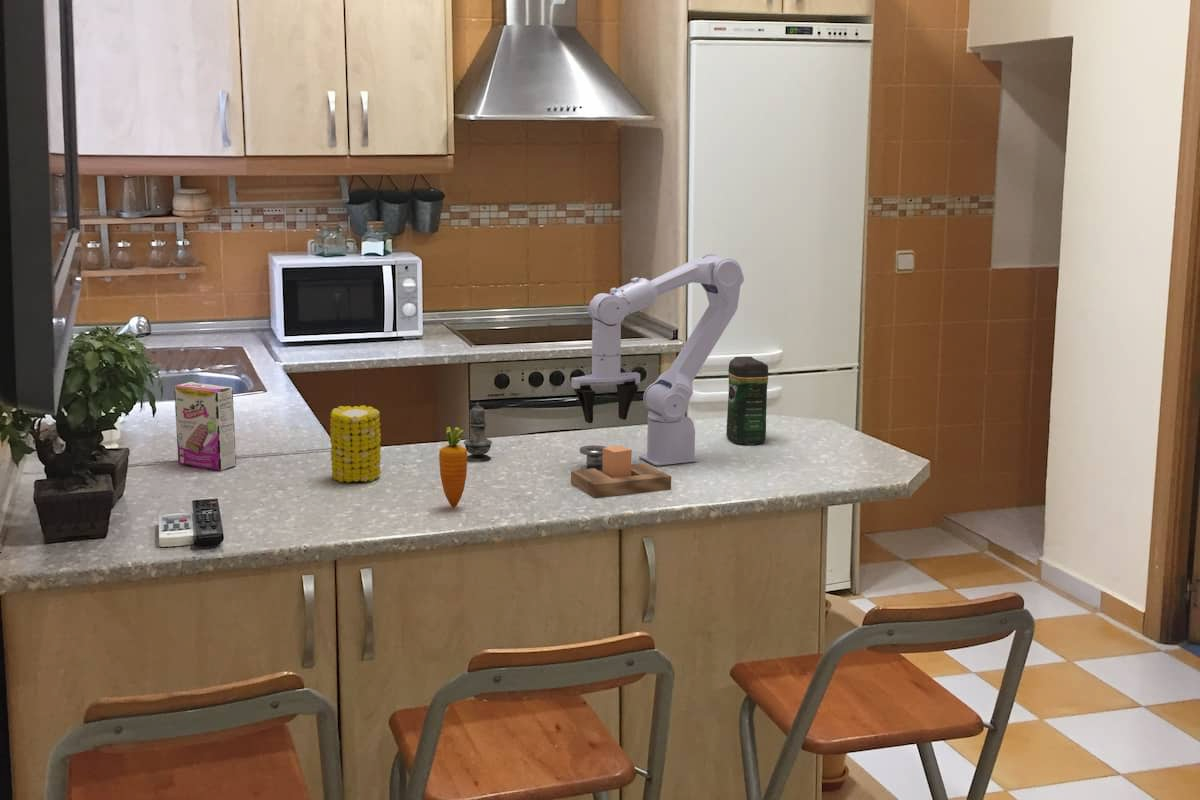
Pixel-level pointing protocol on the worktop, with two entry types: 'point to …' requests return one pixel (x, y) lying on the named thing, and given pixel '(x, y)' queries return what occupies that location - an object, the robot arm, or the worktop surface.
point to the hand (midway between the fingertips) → (605, 420)
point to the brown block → (617, 461)
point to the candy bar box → (205, 426)
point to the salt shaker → (477, 436)
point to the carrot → (453, 467)
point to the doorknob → (593, 457)
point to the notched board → (621, 481)
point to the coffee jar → (747, 400)
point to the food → (355, 443)
